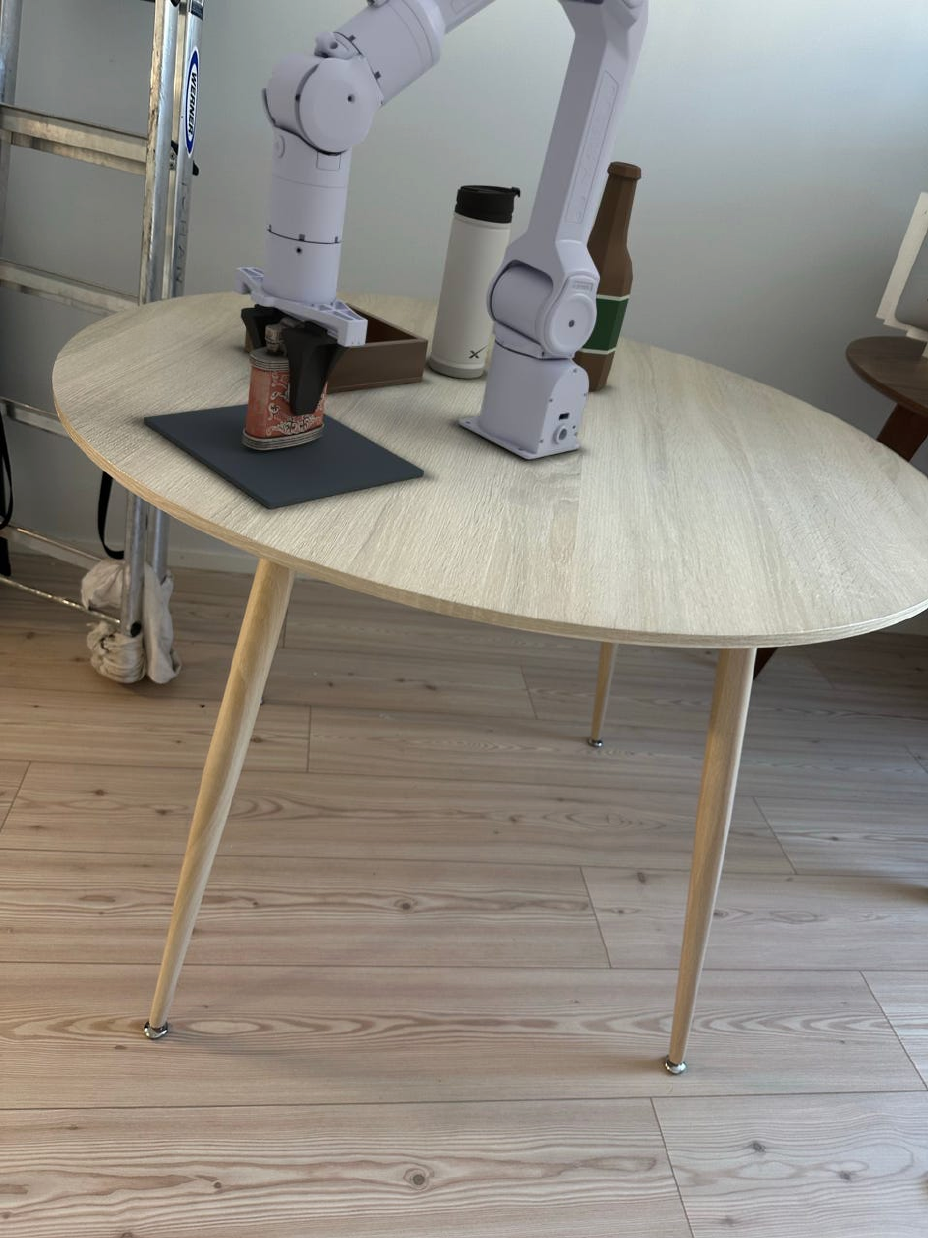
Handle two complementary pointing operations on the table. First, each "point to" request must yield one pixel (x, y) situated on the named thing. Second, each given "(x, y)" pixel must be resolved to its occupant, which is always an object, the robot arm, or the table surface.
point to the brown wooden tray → (376, 357)
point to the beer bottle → (610, 271)
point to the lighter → (276, 397)
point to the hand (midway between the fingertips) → (288, 404)
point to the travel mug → (470, 279)
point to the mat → (283, 457)
